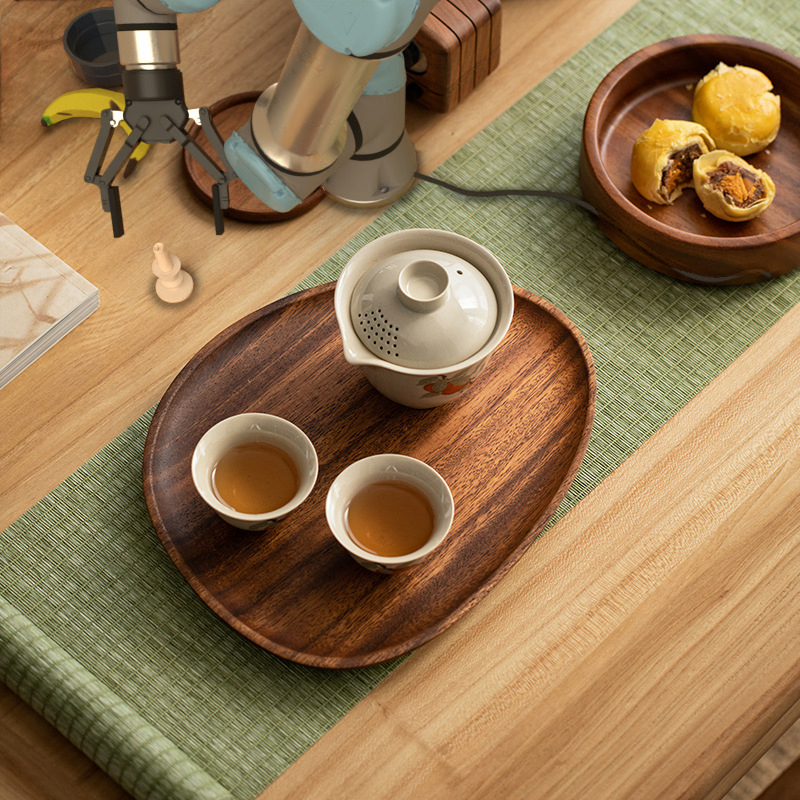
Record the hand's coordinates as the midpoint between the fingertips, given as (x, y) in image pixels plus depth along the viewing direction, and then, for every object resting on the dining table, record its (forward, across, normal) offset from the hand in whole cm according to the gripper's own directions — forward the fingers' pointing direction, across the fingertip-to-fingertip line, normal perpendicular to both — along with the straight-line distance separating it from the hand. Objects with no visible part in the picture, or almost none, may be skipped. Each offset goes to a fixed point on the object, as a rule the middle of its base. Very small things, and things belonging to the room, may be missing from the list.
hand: (169, 235), depth 124 cm
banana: (-11, +14, -20) cm, 27 cm away
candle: (+8, 0, -1) cm, 8 cm away
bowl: (-22, +13, -31) cm, 41 cm away
